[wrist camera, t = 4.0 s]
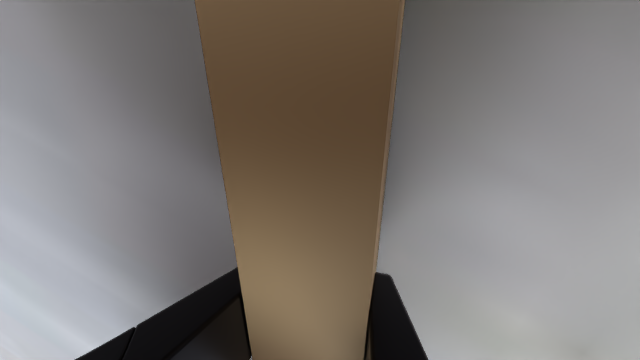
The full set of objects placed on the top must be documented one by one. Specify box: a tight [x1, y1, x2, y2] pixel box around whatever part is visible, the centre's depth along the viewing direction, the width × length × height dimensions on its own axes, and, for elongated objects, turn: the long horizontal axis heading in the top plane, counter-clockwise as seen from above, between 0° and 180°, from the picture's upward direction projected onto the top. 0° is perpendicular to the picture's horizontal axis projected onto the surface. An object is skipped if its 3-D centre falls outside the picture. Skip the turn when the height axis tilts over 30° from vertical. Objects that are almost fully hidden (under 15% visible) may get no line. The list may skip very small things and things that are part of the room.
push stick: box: [195, 0, 405, 360], centre depth 5 cm, size 14×3×3 cm, turn 0°
